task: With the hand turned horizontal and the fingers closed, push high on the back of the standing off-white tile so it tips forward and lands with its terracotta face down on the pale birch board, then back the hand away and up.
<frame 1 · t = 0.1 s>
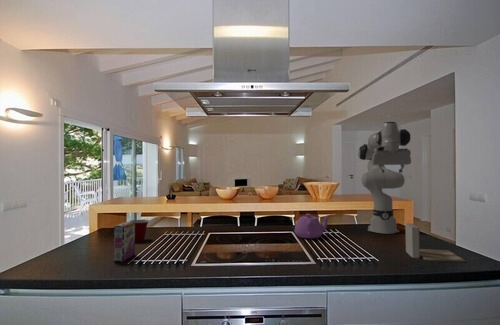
hand: (391, 172, 164), 39 cm above the counter, fingers open, 8 cm apart
tile: (412, 254, 137), on the counter
plastic cup: (139, 240, 169), on the counter
teapot: (312, 237, 174), on the counter
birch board: (437, 255, 134), on the counter
candy bar box: (124, 258, 136), on the counter
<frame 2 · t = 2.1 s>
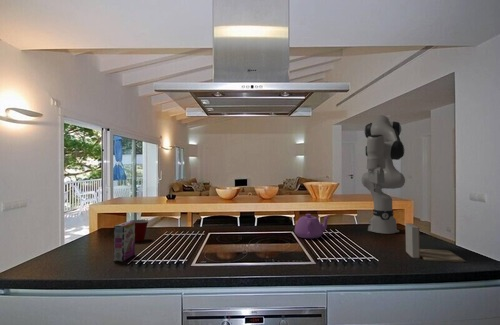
hand: (376, 192, 148), 29 cm above the counter, fingers open, 3 cm apart
nothing on the counter moved.
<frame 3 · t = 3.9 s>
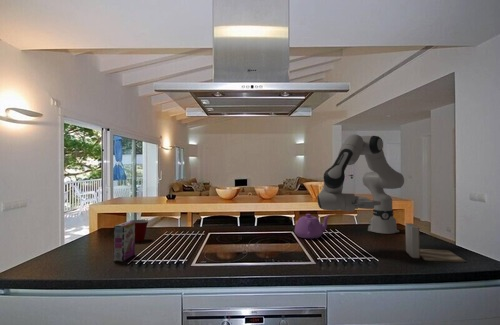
hand: (380, 203, 140), 24 cm above the counter, fingers closed
nothing on the counter moved.
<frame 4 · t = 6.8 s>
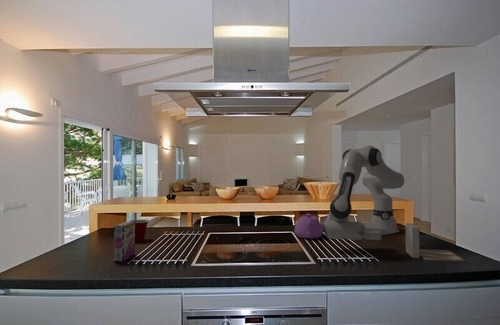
hand: (387, 231, 139), 10 cm above the counter, fingers closed
nothing on the counter moved.
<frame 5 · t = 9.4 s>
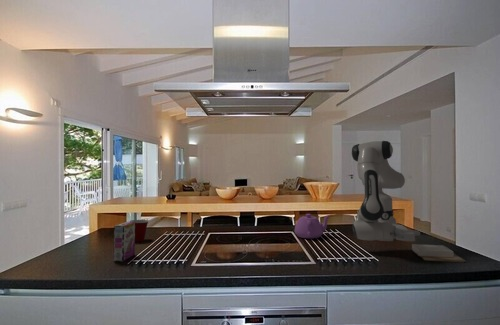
hand: (419, 233, 136), 10 cm above the counter, fingers closed
tile: (415, 250, 136), point 2 cm above the counter, tilted 90°, touching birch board
everything else where it was.
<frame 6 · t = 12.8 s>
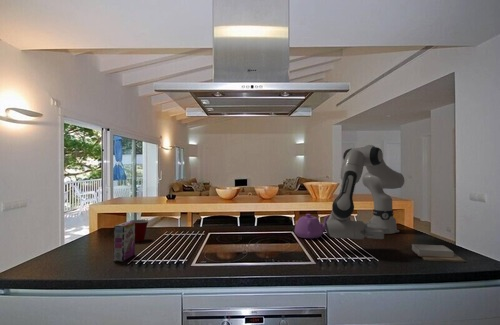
hand: (389, 231, 139), 11 cm above the counter, fingers closed
nothing on the counter moved.
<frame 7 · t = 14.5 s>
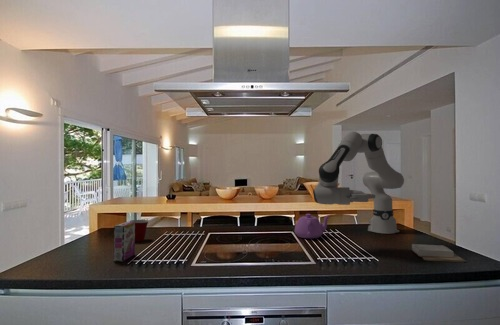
hand: (374, 196, 143), 28 cm above the counter, fingers closed
nothing on the counter moved.
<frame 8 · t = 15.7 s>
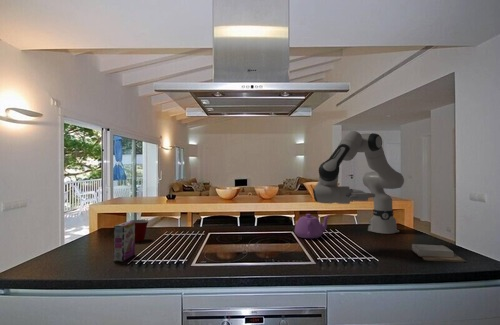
hand: (374, 195, 143), 28 cm above the counter, fingers closed
nothing on the counter moved.
at the end: tile tilted 90°; tile touching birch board; the gripper is holding nothing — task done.
